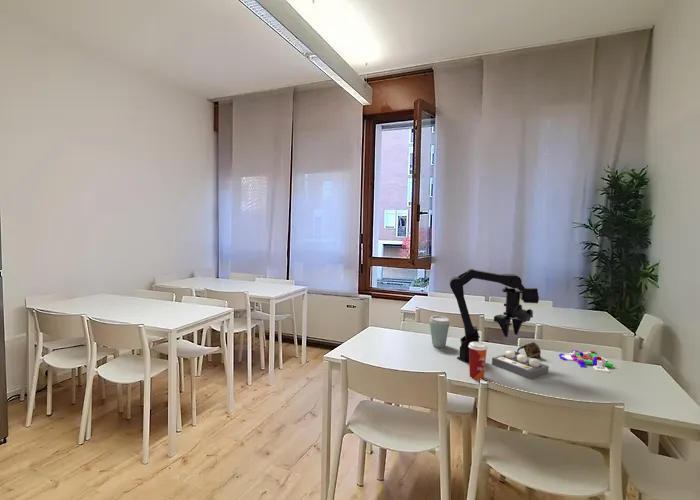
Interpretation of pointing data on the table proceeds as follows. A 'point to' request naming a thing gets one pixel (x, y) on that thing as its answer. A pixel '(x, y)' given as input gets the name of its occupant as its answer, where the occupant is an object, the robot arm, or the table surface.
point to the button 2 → (534, 363)
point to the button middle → (522, 358)
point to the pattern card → (514, 363)
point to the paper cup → (477, 359)
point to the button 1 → (510, 354)
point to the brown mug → (530, 350)
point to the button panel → (520, 371)
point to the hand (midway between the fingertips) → (511, 335)
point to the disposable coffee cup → (439, 330)
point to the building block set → (591, 355)
